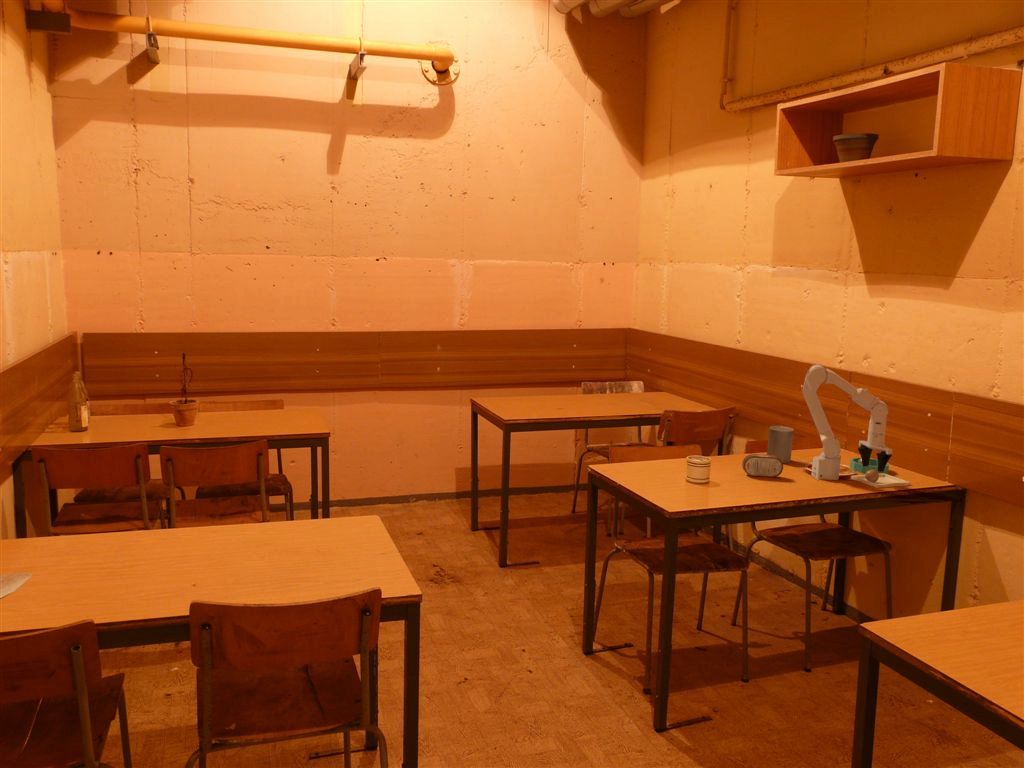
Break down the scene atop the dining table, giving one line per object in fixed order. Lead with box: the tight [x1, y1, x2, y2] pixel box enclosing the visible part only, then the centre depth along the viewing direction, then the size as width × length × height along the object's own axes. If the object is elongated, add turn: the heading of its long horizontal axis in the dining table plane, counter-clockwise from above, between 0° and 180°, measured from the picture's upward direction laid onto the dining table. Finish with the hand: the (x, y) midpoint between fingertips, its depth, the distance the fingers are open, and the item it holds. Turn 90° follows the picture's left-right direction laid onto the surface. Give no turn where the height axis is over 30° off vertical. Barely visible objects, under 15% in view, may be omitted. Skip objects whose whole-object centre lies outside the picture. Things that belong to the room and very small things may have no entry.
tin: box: [741, 453, 784, 478], centre depth 314 cm, size 15×3×8 cm, turn 84°
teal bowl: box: [849, 457, 890, 475], centre depth 328 cm, size 14×14×4 cm
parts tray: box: [850, 473, 911, 489], centre depth 310 cm, size 16×13×2 cm
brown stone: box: [864, 470, 879, 483], centre depth 309 cm, size 5×5×5 cm
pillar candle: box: [766, 424, 795, 464], centre depth 340 cm, size 10×10×15 cm
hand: (873, 468), depth 308 cm, fingers open, 7 cm apart
